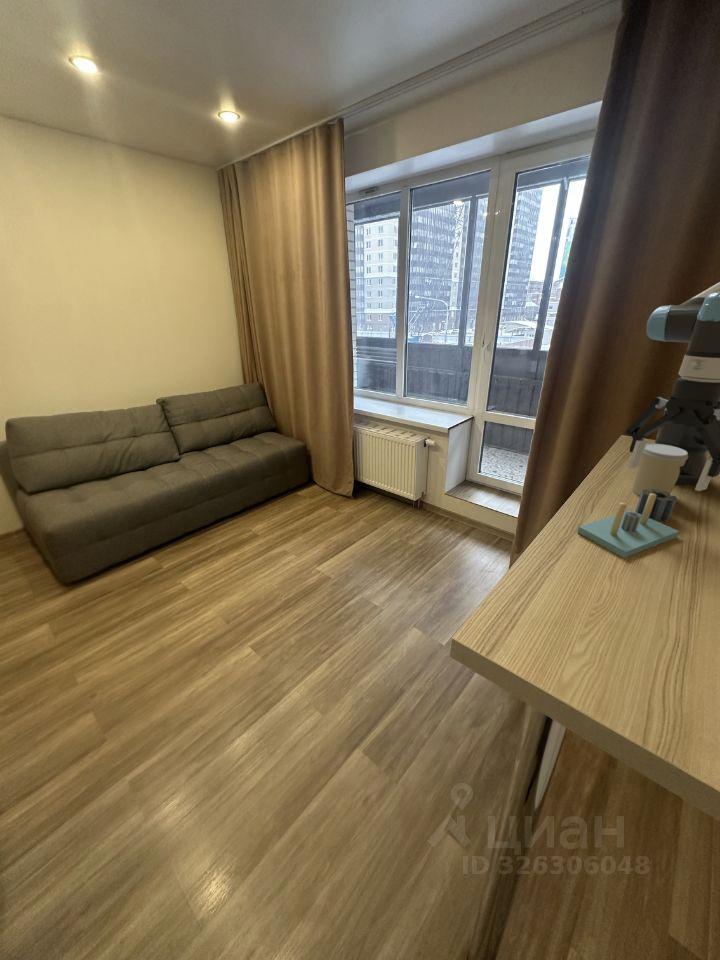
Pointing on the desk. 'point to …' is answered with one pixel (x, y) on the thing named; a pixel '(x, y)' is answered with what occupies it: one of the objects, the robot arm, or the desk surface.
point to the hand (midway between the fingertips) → (664, 477)
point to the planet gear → (657, 504)
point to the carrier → (628, 530)
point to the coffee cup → (659, 468)
